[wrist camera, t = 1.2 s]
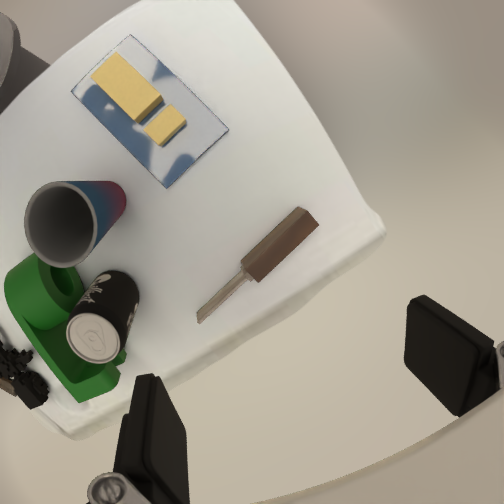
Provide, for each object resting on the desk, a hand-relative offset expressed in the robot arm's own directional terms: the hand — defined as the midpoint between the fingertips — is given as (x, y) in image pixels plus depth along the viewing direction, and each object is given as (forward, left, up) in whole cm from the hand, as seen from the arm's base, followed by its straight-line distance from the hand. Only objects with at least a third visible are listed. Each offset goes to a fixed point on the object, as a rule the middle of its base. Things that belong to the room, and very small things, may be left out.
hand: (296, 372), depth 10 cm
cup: (-12, -8, -30) cm, 33 cm away
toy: (-16, -37, -27) cm, 49 cm away
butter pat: (-13, +3, -29) cm, 31 cm away
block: (-8, -47, -30) cm, 56 cm away
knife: (+7, -1, -29) cm, 30 cm away
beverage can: (-3, -16, -30) cm, 34 cm away
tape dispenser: (-7, -25, -25) cm, 36 cm away
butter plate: (-16, +3, -29) cm, 34 cm away
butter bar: (-19, +3, -29) cm, 35 cm away
